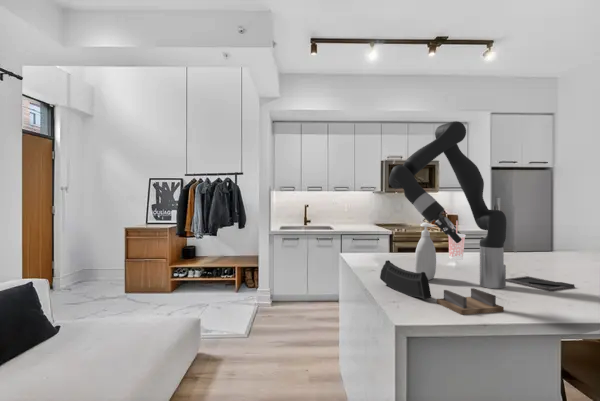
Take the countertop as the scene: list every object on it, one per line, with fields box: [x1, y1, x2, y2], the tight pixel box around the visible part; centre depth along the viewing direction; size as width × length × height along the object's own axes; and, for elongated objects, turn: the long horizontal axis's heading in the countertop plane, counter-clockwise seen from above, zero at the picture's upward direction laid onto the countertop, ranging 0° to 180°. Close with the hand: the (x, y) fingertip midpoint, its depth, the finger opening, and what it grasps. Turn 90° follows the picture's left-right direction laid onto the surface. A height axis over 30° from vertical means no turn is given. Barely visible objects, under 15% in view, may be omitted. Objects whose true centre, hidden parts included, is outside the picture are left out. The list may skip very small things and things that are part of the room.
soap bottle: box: [414, 221, 437, 281], centre depth 173 cm, size 14×8×27 cm, turn 127°
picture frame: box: [506, 275, 576, 292], centre depth 163 cm, size 16×2×21 cm
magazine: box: [379, 260, 432, 300], centre depth 149 cm, size 17×3×30 cm
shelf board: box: [436, 287, 504, 316], centre depth 129 cm, size 16×14×5 cm
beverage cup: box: [448, 220, 467, 261], centre depth 134 cm, size 6×6×14 cm
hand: (461, 240), depth 133 cm, fingers closed on beverage cup, 6 cm apart
